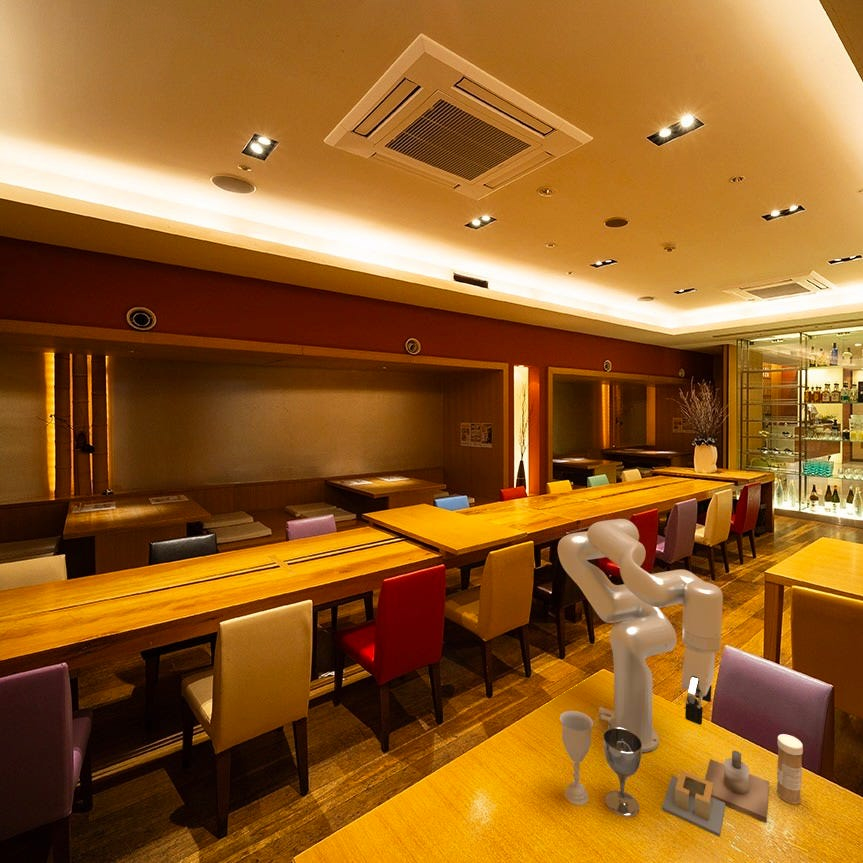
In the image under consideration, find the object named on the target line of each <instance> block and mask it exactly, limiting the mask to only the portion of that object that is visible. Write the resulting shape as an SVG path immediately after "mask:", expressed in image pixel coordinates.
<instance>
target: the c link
mask: <svg viewBox="0 0 863 863" xmlns="http://www.w3.org/2000/svg"><path fill="white" fill-rule="evenodd" d="M677 778H678V780H677V784H676V787H675V806H677V807H679V808H681V809H683V810H685V811H688V812H689V808H690V795H692V796H694V797H695V815H696V816H699V817H701V818H703V819H705V820H708V821H709V819H710V814H711V809H712V804H713V783H712V782H709V781H707V780H705V778H702V777H699V776H697V775H694V774H691V773H689V772H687V771H684V770H681V769H680V771H679V774H678V777H677Z"/></svg>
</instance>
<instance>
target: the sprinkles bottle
mask: <svg viewBox="0 0 863 863" xmlns="http://www.w3.org/2000/svg"><path fill="white" fill-rule="evenodd" d="M803 746H804V745H803V743H802V742H801V740H800V739H798V738H797V737H795V736H793V735H789V734H784V733H782V734H779V735H778V736H777V747H778V748H777V749H778V750H777V752H778V754H777V755H778V756H777V767H776V768H777V771H776V775H777V776H776V779H777V784H776V785H777V787H776V793H777V796H778V797H779V798H780V799H782V800H783V801H785V802H787V803H789V804H791V805H798V804H801V803H802V798H801V796H802V795H801V793H802V790H801V789H802V774H803V773H802V772H803V770H802V769H803V766H802V761H803V760H802V757H803V752H804V747H803Z"/></svg>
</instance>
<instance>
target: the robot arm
mask: <svg viewBox="0 0 863 863" xmlns="http://www.w3.org/2000/svg"><path fill="white" fill-rule="evenodd" d="M639 540H640V534H639V530H638V528H637V526H636V525H635V524H634V523H633V522H632V521H630V520H629V519H626V518H617V519H616V518H615V519H609V520H607V519H606V520H601V521H597V522H595V523H592V524H591V525H590V526H589V527H588V530H587V531H579V532H573V533H568V534H566V535H565V536H563V537H562V538H561V539H560V540H559V542H558V545H557V554H558V555H557V556H558V558H559V562H560V564H561V567H562V568H563V570H564V571H565V572H566V573H567V575H568V576H569V577H570V578H571V579H572V581H574V583H575V584H576V585H577V586H578V587H579V589H580V590H581V592H582V593H583V595H584V596H585V598H586V599H587V601H588V602H589V603H590V605H591V607H592V608H593V610H594V612H595V613H596V614H597V616H598V617H599V618H600V619H601V621H603V622H604V623H610V624H613V623H616V624H614V626H613V627H612V628H611V630H610V633H609V640H610V645H611V650H612V657H613V688H614V689H613V709H611V710H609V709H607V708H605V707H602V706H599V710H598V714H599V715H600V720H601V721H604V722H608V724H607V729H610V728H623V729H627V730H629V731H631V732H633V733H634V734H636V735H637V736H638V737H639V738H640V740H641V743H642V753H647V752H651V751H654V750H655V749H657V748H658V746H659V744H660V743H659V741H660V739H659V734H658V733H657V730H655V728H654V727H653V696H654V695H653V694H654V693H653V673H652V669H650V666H649V665H648V664H647V662H646V659H647V658H649V657H652V656H655V655H660V654H663V653H668V652H670V651H672V650H673V649H675V647H676V645H677V641H678V640H677V638H678V637H677V633H676V631H675V628H674V626H673V625H672V623H671V622H670V620H669V619H668V617H667V616H666V615H665V614H664V613H663V611H662V610H661V608H667V607H670V606H675V605H683V607H682V608H683V609H682V610H683V611H682V635H681V636H682V637H681V640H682V643H683V644H684V646H685V649H684V656H683V664H682V666H683V667H682V676H681V677H682V678H681V688H682V690H684V691H687V695H686V701H685V712H684V715H685V716H684V717H685V720H686V721H688V722H691V723H693V724H696V725H699V726H701V725H702V723H703V712H704V711H703V709H704V708H703V706H702V704H703V701H705V702H707V703H711V702H712V687H713V686H712V682H713V681H714V680H713V679H714V676H715V661H716V660H715V659H716V658H715V656H716V655H715V654H717V653H719V652H720V651H721V646H722V628H723V627H722V625H723V624H722V622H723V604H724V602H723V600H724V596H723V591H722V590H721V588H720V587H719V586H717V585H716V584H713V583H710V582H708V581H705V580H703V579H701V578H700V577H699V576H697V575H695V574H694V573H693V572H691V571H689V570H687V569H675V570H674V569H673V570H669V571H662V572H657V573H649V572H648V571H646V570H645V569H643V568H642V567H641V566H642V565H643V563H644V561H645V559H646V552H647V551H646V549H645V546H644V544H643V543H642V542H640V541H639ZM602 558H607V559H609V560H610V561H611V562H612V563H614V564H615V565H616V566H618V567H619V573H620V574H619V575H620V576H621V579H622V582H623V584H618V585H617V584H615V583H612V582H611V580H610V579H609V578H608V576H607V575H606V574H605V572H604V571H603V570H601V569H600V567H598V566H596V565H594V564H592V563H591V562H589V560H596V559H602Z"/></svg>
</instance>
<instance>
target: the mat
mask: <svg viewBox="0 0 863 863" xmlns="http://www.w3.org/2000/svg"><path fill="white" fill-rule="evenodd" d="M677 780H678V777H676V776H673V775H671V779H670V782H669V785H668V788H667V791H666V794H665V796H664V800H663V803H662V806H661V810H662V811H664V812H666V813H668V814H670V815H673V816H674V817H677V818H679V819H681V820H683V821H685V822H688V823H689V824H692V825H695V826H696V827H699V828H701V829H702V830H704V831H707V832H709V833H712V834H714V835H715V836H718V837H720V836H721V831H722V826H723V820H724V815H725V809H726V805H725V802H722V801H720V800H718V799H715V798H713V804H712V809H711V814H710V819H709V821H708V820H705V819H703V818H701V817H699V816H696V815H695V797H694V796H692V795H690V808H689V812H688V811H685V810H683V809H681V808H679V807H677V806H675V787H676V784H677Z"/></svg>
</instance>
